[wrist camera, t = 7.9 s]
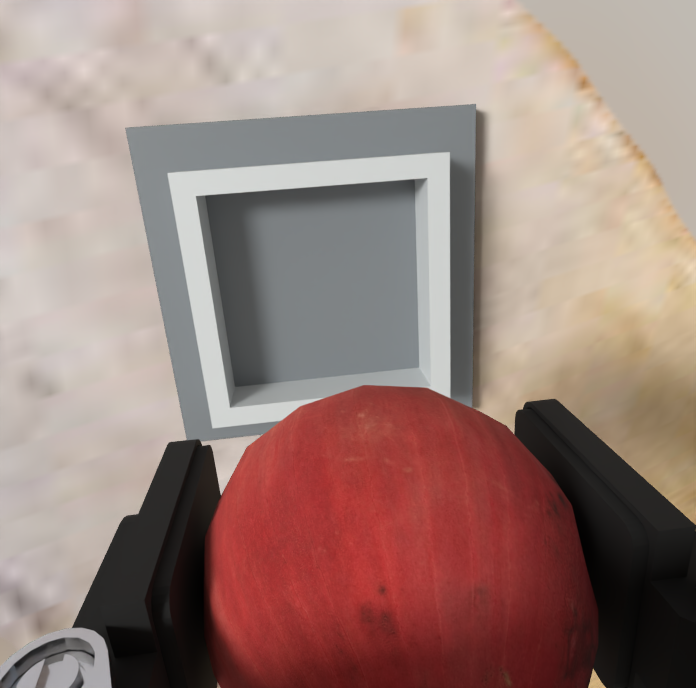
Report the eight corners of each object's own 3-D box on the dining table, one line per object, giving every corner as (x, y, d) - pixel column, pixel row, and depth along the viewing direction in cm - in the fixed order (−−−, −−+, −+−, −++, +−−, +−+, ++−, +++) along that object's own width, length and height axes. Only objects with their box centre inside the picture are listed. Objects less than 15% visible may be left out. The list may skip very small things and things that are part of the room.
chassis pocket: (468, 106, 25) (495, 98, 22) (466, 402, 31) (487, 431, 28) (131, 128, 24) (107, 124, 21) (190, 433, 30) (178, 468, 26)
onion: (511, 337, 11) (943, 690, 4) (462, 554, 13) (688, 1079, 6) (236, 315, 11) (104, 706, 3) (225, 550, 12) (126, 1151, 5)
